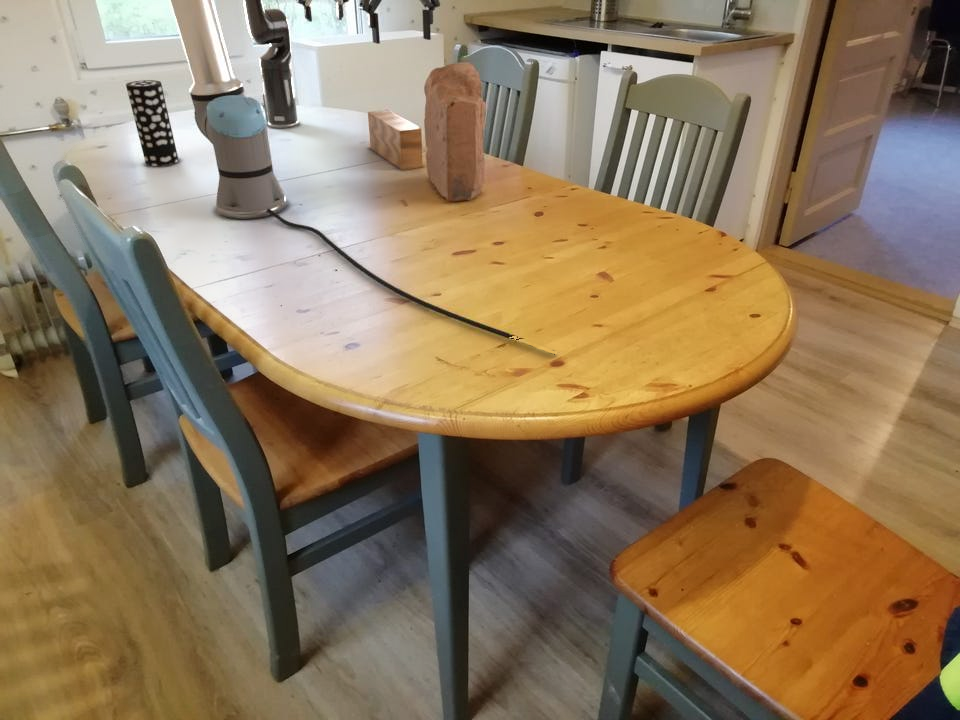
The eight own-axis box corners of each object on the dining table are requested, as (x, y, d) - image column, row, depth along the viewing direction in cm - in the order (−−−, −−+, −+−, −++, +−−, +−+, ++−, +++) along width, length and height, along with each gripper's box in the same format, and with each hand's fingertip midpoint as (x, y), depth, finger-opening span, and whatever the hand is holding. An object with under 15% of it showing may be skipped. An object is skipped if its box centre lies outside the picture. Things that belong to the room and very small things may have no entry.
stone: (494, 199, 163) (495, 72, 149) (448, 204, 160) (444, 75, 146) (466, 175, 181) (465, 60, 167) (425, 179, 178) (420, 62, 164)
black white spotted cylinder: (184, 157, 190) (167, 80, 179) (169, 166, 183) (151, 87, 172) (155, 156, 190) (136, 79, 179) (139, 165, 183) (119, 86, 172)
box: (422, 166, 186) (421, 128, 180) (402, 170, 183) (400, 130, 178) (389, 145, 202) (387, 109, 197) (370, 148, 200) (367, 111, 194)
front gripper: (438, -61, 167) (440, 35, 178) (339, -60, 156) (348, 42, 168) (452, -60, 161) (453, 39, 173) (351, -59, 151) (359, 46, 162)
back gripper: (339, -48, 188) (344, 17, 197) (287, -48, 182) (295, 20, 191) (348, -47, 183) (353, 20, 192) (295, -47, 177) (303, 23, 186)
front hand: (402, 41), depth 170 cm, fingers open, 13 cm apart
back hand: (324, 20), depth 191 cm, fingers open, 8 cm apart
